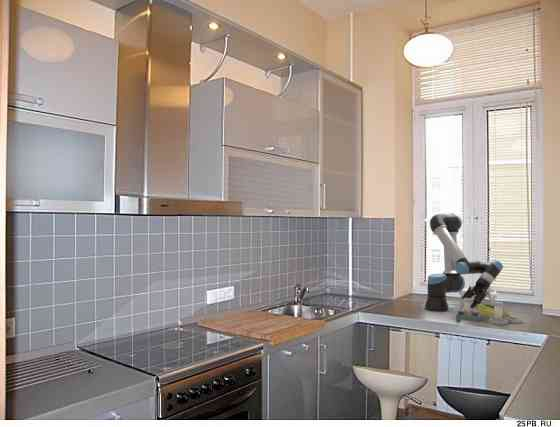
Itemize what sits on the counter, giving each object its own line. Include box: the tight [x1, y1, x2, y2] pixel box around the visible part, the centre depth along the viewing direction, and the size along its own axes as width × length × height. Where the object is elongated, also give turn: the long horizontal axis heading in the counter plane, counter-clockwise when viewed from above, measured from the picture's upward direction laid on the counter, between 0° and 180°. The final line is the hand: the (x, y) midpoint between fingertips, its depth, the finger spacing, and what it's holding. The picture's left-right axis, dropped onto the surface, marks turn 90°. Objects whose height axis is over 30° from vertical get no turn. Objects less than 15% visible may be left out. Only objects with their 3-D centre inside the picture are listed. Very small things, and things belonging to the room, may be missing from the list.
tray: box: [456, 310, 480, 323], centre depth 272 cm, size 12×12×4 cm
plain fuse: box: [493, 300, 504, 321], centre depth 259 cm, size 5×5×12 cm
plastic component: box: [476, 302, 511, 318], centre depth 285 cm, size 20×7×10 cm
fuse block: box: [486, 316, 524, 327], centre depth 261 cm, size 20×9×4 cm, turn 111°
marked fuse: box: [463, 298, 473, 316], centre depth 272 cm, size 5×5×12 cm
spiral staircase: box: [457, 279, 498, 308], centre depth 319 cm, size 18×18×25 cm
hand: (463, 310), depth 271 cm, fingers open, 5 cm apart
